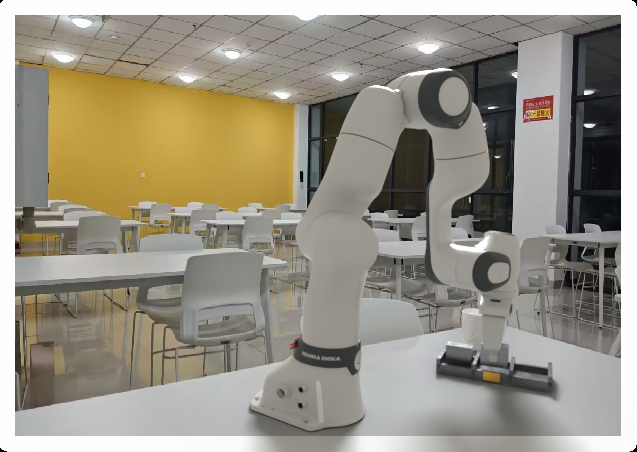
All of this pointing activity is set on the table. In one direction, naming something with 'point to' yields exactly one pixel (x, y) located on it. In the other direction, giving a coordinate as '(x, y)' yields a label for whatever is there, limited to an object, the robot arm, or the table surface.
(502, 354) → the grey upright block
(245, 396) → the table surface
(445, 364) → the rack
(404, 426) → the table surface
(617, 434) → the table surface
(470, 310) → the white cup
